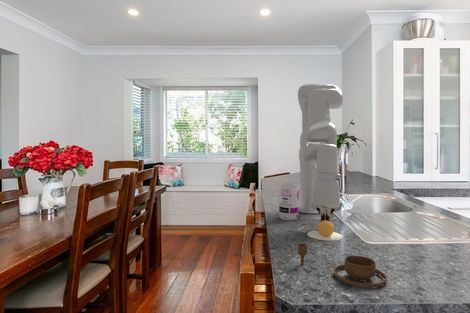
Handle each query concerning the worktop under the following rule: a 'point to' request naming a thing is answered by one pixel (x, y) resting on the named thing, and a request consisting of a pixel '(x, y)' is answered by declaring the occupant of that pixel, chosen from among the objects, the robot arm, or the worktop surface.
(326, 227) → the ball
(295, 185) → the supplement can
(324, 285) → the worktop surface
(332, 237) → the disc
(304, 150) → the robot arm
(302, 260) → the place setting
